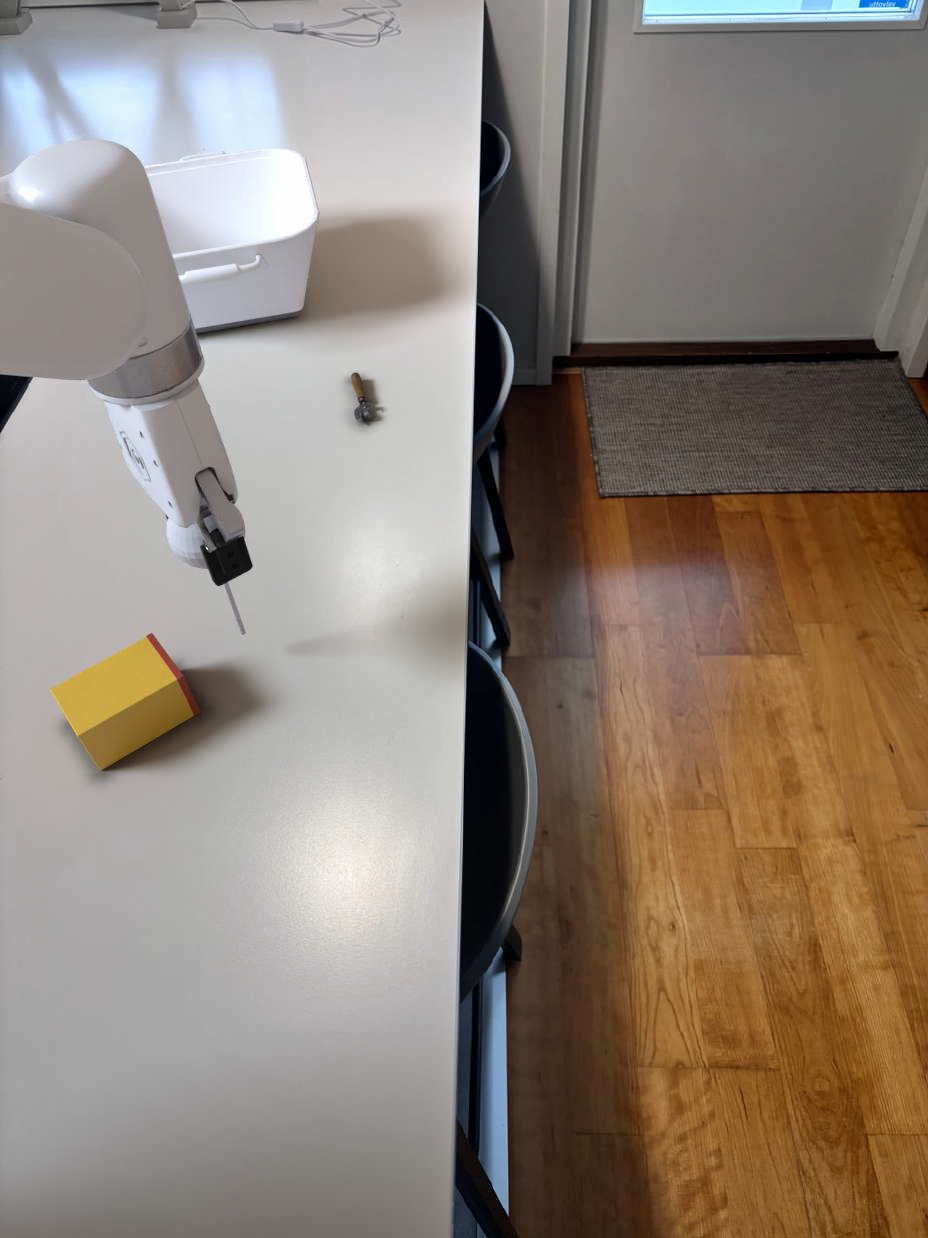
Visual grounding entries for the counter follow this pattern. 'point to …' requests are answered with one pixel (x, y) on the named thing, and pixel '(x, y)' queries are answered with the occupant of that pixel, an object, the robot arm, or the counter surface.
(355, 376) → the can opener
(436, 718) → the counter surface
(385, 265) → the counter surface
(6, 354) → the robot arm
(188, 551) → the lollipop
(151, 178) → the tub
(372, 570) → the counter surface
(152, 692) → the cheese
